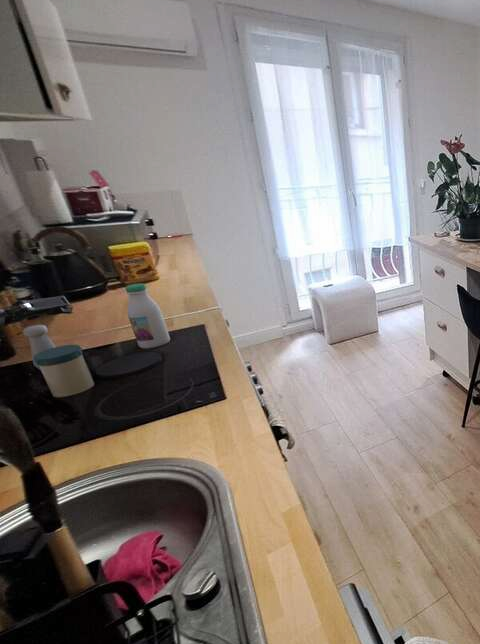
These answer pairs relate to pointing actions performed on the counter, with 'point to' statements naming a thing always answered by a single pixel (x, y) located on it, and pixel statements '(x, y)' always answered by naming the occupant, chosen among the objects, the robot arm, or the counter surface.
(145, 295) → the milk bottle
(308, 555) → the counter surface
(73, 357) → the lid
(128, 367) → the trivet
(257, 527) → the counter surface
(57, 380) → the jar
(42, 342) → the salt shaker
